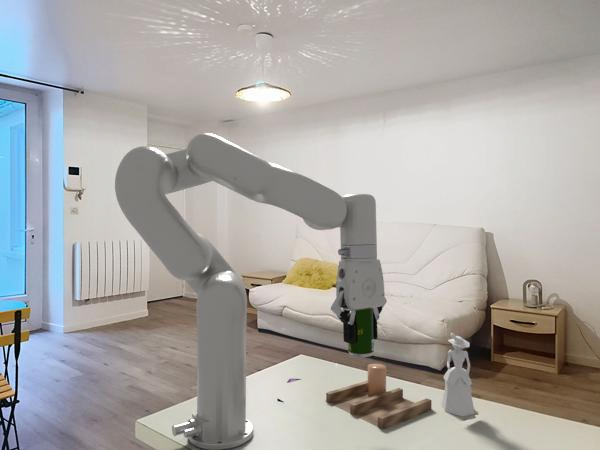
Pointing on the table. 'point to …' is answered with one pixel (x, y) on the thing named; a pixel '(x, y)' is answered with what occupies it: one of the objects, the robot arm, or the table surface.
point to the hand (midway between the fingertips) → (360, 339)
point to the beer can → (363, 334)
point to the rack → (377, 405)
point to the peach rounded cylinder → (376, 379)
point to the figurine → (458, 381)
